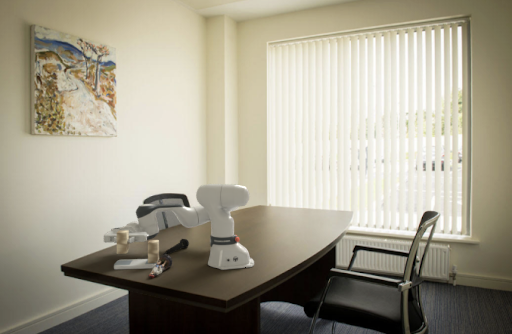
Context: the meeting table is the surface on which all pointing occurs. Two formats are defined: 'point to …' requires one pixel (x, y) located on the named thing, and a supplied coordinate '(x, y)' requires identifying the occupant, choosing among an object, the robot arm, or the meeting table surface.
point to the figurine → (161, 265)
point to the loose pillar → (122, 242)
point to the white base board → (134, 264)
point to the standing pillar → (153, 251)
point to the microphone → (178, 246)
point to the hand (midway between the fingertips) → (122, 241)
